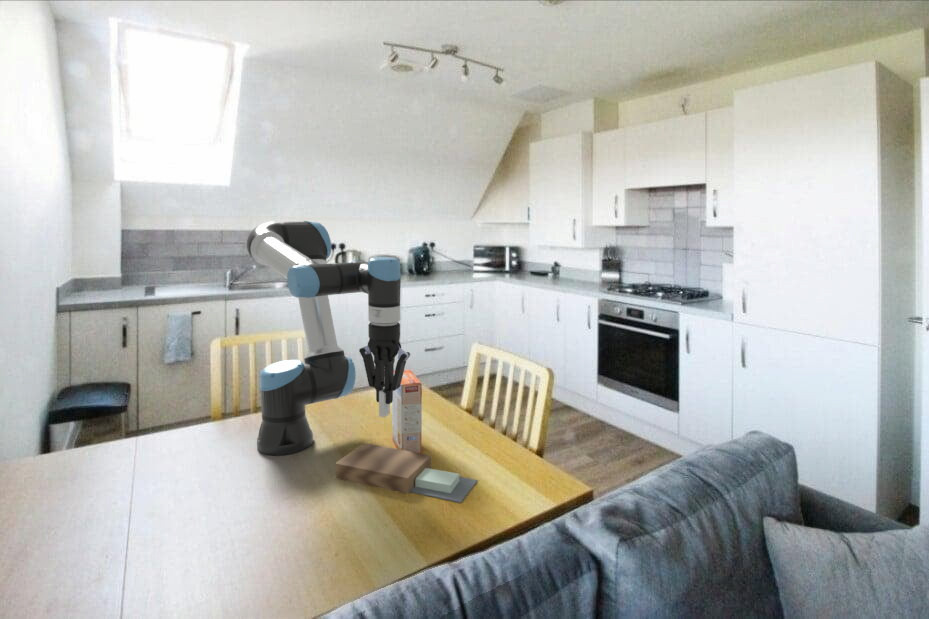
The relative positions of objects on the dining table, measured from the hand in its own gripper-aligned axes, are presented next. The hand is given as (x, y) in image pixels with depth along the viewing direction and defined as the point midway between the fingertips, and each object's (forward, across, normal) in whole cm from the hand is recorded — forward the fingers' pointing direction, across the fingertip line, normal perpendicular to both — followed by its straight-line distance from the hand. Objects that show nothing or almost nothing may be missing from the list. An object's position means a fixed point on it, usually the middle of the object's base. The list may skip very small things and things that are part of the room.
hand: (384, 414), depth 132 cm
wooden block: (+16, 0, -1) cm, 16 cm away
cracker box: (+16, -2, +15) cm, 22 cm away
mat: (+15, +17, -1) cm, 23 cm away
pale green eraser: (+15, +15, -1) cm, 21 cm away
